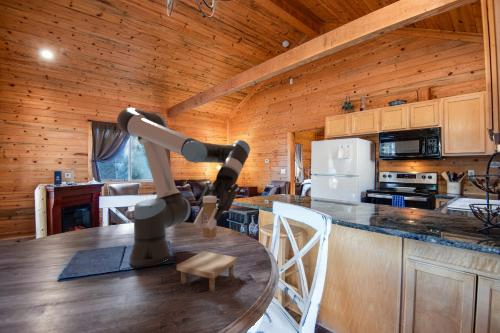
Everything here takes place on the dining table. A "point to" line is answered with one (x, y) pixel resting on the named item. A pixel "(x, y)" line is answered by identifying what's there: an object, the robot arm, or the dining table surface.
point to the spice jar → (208, 215)
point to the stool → (207, 266)
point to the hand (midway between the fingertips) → (202, 226)
